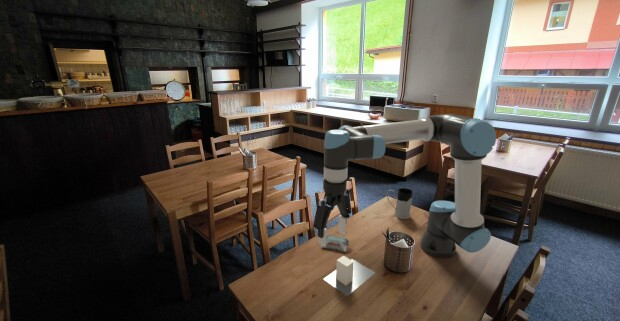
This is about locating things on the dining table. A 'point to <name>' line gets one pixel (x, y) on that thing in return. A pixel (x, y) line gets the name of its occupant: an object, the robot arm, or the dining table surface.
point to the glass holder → (402, 203)
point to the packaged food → (336, 243)
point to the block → (344, 270)
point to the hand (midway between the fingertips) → (332, 238)
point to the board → (359, 278)
